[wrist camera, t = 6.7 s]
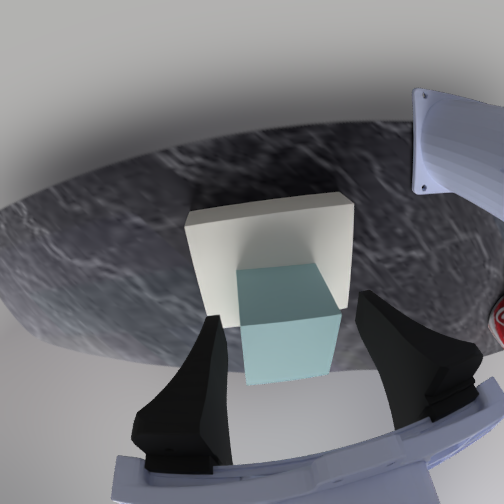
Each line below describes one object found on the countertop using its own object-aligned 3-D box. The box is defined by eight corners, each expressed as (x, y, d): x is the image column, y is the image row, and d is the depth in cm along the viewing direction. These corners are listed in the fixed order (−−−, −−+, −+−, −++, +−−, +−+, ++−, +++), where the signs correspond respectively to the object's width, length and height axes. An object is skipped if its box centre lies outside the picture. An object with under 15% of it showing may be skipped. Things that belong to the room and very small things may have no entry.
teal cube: (315, 263, 18) (341, 314, 13) (309, 321, 20) (328, 374, 16) (235, 270, 17) (240, 326, 13) (241, 329, 20) (246, 385, 15)
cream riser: (339, 191, 18) (353, 203, 16) (336, 288, 22) (347, 307, 20) (189, 211, 18) (184, 226, 16) (212, 307, 22) (211, 329, 20)
